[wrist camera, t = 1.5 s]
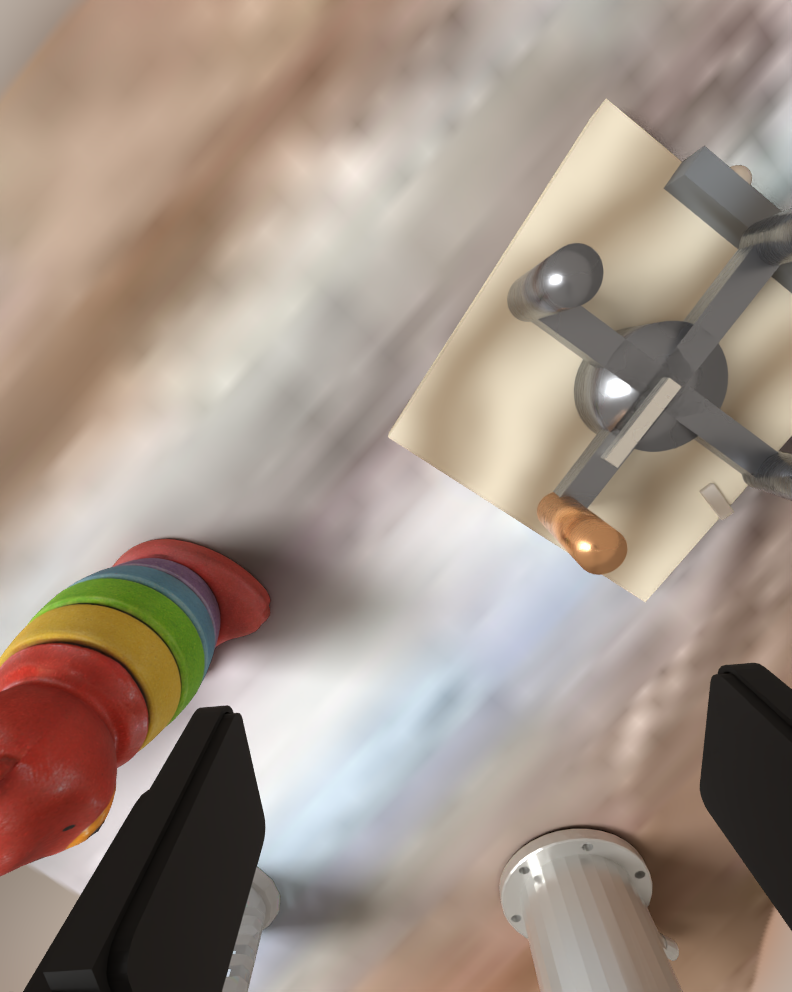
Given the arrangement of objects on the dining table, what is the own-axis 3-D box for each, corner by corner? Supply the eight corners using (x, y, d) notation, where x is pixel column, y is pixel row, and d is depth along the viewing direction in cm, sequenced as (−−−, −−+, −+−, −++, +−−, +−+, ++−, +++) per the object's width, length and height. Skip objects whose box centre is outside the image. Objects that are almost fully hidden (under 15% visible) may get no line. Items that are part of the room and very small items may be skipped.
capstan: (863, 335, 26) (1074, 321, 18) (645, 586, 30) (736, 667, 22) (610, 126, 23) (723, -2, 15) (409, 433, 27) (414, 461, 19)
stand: (863, 323, 28) (934, 317, 24) (633, 589, 32) (663, 618, 29) (599, 104, 25) (634, 58, 21) (388, 432, 29) (387, 442, 26)
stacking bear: (181, 689, 35) (-29, 1007, 17) (74, 597, 33) (-285, 854, 15) (284, 604, 33) (161, 867, 16) (176, 500, 31) (-102, 671, 14)
